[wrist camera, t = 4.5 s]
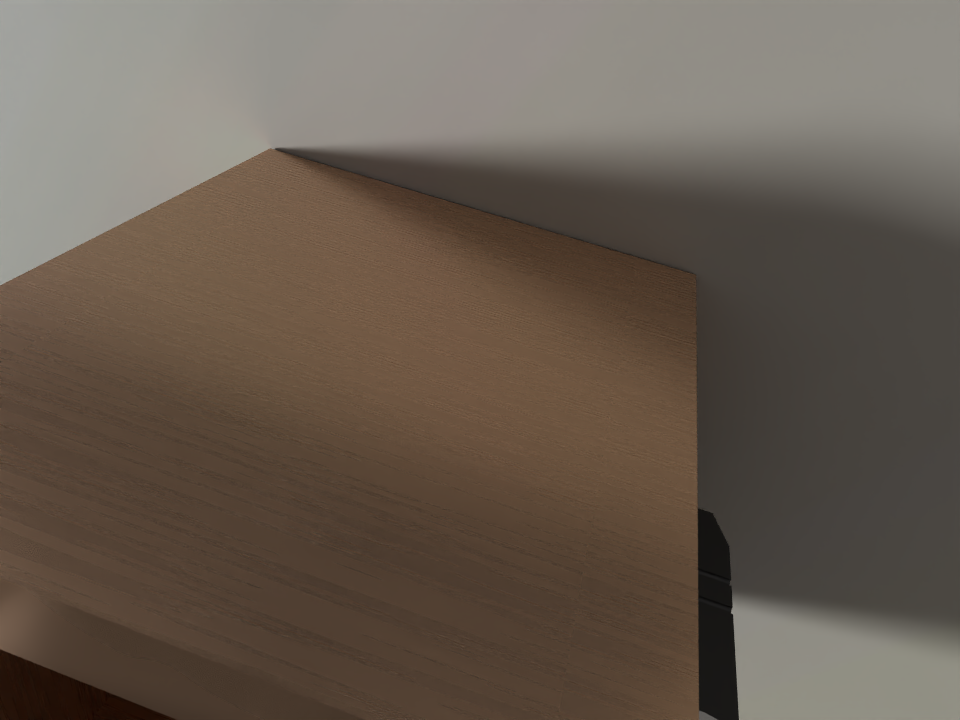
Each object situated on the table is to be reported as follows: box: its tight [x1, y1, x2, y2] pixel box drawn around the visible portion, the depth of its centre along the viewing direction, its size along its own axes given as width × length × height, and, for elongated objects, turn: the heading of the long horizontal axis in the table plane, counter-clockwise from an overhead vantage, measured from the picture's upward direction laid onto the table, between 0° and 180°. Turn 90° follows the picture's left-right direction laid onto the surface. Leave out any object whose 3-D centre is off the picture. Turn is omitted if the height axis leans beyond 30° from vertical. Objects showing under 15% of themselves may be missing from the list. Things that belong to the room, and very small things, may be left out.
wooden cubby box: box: [0, 149, 699, 720], centre depth 8 cm, size 6×6×7 cm
